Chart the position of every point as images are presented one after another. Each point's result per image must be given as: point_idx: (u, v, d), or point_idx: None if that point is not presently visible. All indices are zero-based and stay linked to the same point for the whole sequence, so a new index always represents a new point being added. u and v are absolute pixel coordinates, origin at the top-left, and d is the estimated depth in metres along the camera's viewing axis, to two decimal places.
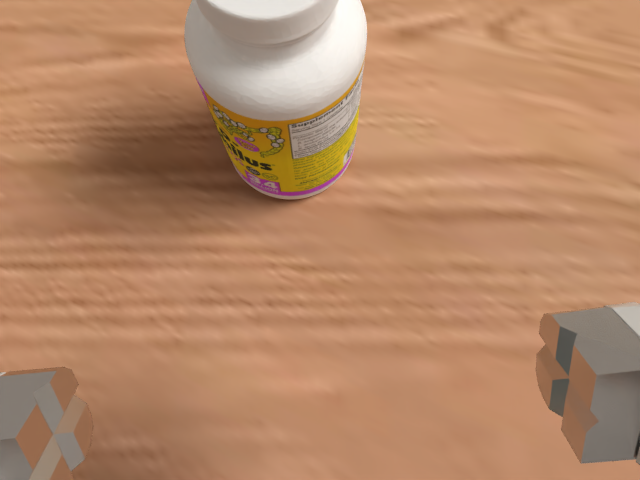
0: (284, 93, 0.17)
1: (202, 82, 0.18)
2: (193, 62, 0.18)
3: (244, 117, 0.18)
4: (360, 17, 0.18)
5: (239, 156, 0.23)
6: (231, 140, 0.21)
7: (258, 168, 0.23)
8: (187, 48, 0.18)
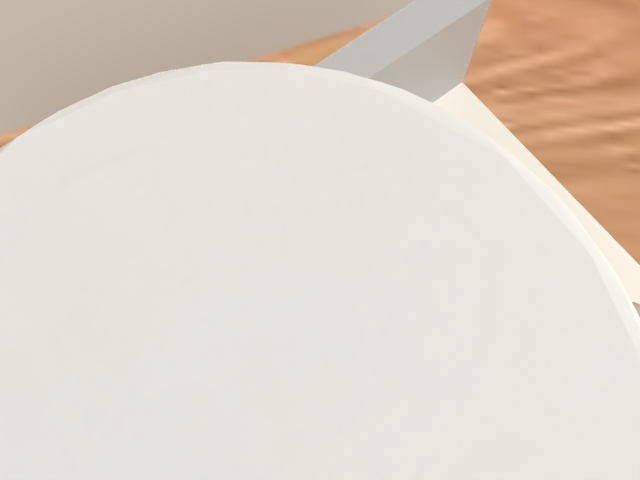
0: None
1: None
2: None
3: None
4: None
5: None
6: None
7: None
8: None
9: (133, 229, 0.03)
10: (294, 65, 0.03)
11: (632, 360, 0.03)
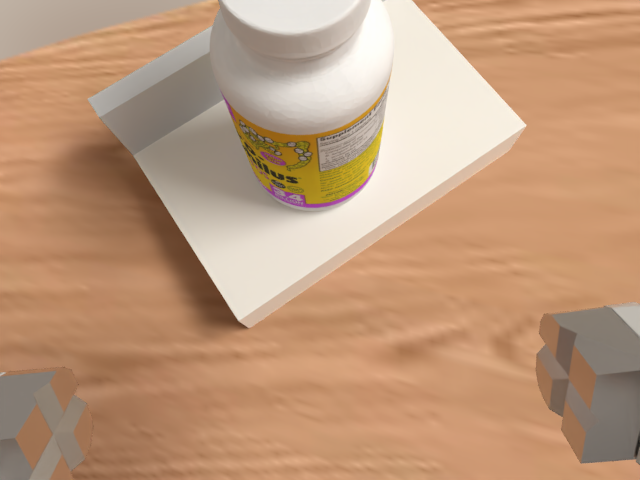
0: (314, 107, 0.17)
1: (229, 98, 0.18)
2: (219, 78, 0.18)
3: (271, 132, 0.18)
4: (388, 26, 0.18)
5: (264, 170, 0.23)
6: (257, 154, 0.21)
7: (283, 181, 0.23)
8: (213, 64, 0.18)
9: None
10: None
11: None
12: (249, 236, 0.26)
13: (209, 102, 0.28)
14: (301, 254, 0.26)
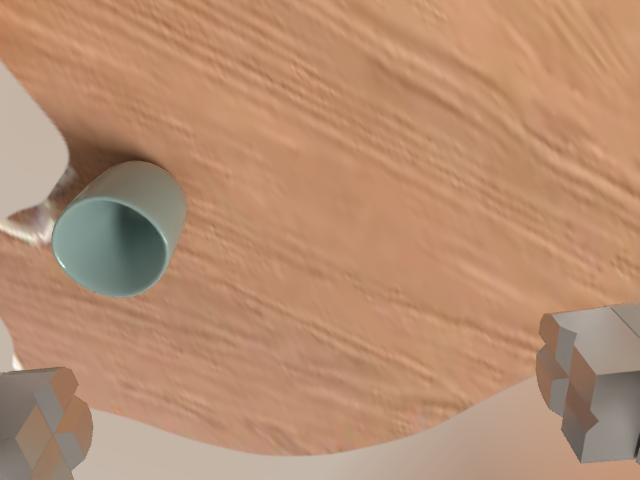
0: None
1: None
2: None
3: None
4: None
5: None
6: None
7: None
8: None
9: None
10: None
11: None
12: None
13: None
14: None
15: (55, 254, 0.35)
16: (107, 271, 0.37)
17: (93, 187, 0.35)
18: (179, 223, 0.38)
